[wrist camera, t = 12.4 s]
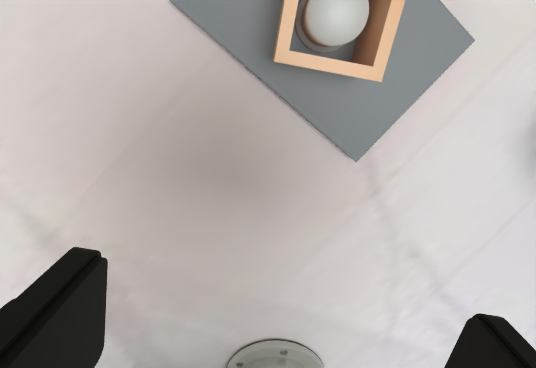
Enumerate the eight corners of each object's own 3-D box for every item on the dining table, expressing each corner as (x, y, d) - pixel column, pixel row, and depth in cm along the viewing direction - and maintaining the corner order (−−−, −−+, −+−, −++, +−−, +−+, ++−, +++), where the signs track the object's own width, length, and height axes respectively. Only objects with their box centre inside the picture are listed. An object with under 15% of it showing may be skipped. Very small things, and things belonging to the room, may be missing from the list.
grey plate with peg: (464, 41, 27) (521, 37, 21) (352, 157, 31) (373, 182, 25) (280, -165, 22) (285, -247, 16) (173, 1, 26) (145, -15, 20)
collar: (383, -23, 24) (418, -46, 18) (357, 76, 27) (381, 81, 21) (289, -43, 24) (297, -73, 18) (272, 60, 26) (274, 61, 21)
